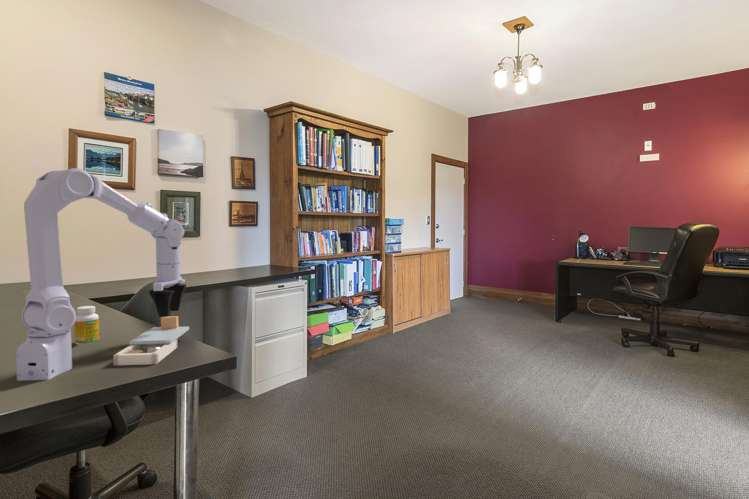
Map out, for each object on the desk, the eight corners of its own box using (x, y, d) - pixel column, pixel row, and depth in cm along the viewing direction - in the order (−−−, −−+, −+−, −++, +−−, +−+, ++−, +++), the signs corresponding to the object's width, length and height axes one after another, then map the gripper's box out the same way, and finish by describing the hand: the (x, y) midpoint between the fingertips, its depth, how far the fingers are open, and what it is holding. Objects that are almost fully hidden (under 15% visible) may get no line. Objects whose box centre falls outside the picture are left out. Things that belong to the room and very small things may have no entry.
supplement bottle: (86, 346, 107) (85, 309, 106) (69, 344, 108) (68, 308, 107) (104, 340, 112) (103, 305, 112) (88, 339, 113) (86, 304, 113)
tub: (156, 367, 91) (156, 354, 91) (113, 368, 90) (113, 355, 90) (177, 349, 104) (177, 338, 104) (140, 350, 103) (140, 339, 103)
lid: (170, 343, 99) (170, 328, 99) (129, 344, 98) (128, 328, 98) (189, 329, 112) (188, 315, 112) (153, 330, 111) (152, 316, 111)
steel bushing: (153, 358, 95) (153, 350, 95) (144, 356, 96) (144, 348, 96) (163, 354, 98) (163, 346, 98) (154, 353, 99) (154, 344, 98)
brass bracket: (137, 362, 92) (137, 354, 92) (123, 363, 92) (123, 354, 91) (143, 358, 95) (143, 350, 95) (129, 358, 95) (129, 350, 94)
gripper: (173, 266, 103) (174, 319, 103) (192, 261, 117) (193, 308, 118) (144, 266, 102) (145, 319, 103) (167, 261, 116) (167, 308, 117)
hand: (169, 313), depth 110 cm, fingers open, 7 cm apart
